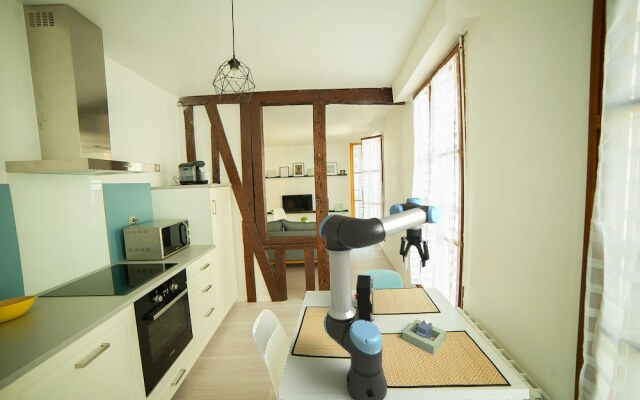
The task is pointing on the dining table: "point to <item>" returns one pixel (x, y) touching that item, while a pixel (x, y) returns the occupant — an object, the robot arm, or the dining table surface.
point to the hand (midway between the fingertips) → (413, 270)
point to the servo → (425, 330)
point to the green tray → (421, 341)
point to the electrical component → (364, 297)
